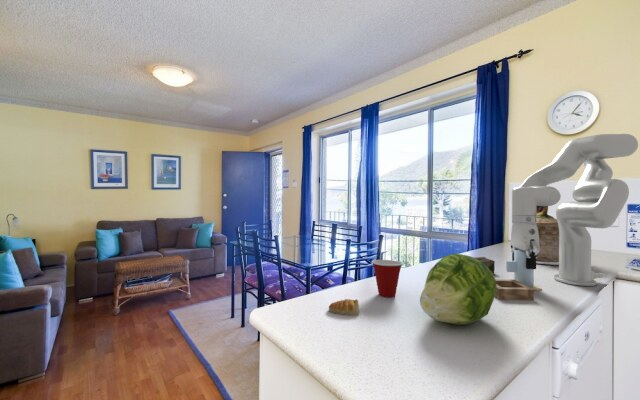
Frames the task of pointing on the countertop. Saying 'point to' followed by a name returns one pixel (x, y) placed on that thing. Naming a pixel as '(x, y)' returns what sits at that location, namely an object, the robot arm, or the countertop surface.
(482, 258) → the beverage carton
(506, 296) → the cradle
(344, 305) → the pastry
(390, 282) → the plastic cup
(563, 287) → the countertop surface
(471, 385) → the countertop surface
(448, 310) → the lettuce
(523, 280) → the pale blue pipe tee
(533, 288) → the mat
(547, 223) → the cookie jar
